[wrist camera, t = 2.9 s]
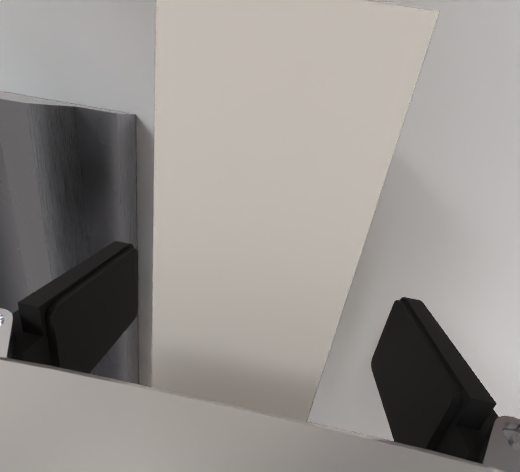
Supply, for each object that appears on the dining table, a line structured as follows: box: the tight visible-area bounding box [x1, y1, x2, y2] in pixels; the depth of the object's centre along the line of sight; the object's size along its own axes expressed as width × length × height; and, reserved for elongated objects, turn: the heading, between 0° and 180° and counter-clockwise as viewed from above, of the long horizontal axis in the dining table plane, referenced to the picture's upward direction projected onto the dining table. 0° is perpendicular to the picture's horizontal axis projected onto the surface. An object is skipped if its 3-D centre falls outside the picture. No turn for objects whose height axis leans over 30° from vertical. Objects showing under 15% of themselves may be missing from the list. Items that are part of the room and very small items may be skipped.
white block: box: [151, 0, 440, 422], centre depth 11 cm, size 15×4×9 cm, turn 171°
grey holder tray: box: [0, 91, 139, 384], centre depth 16 cm, size 20×12×4 cm, turn 171°
